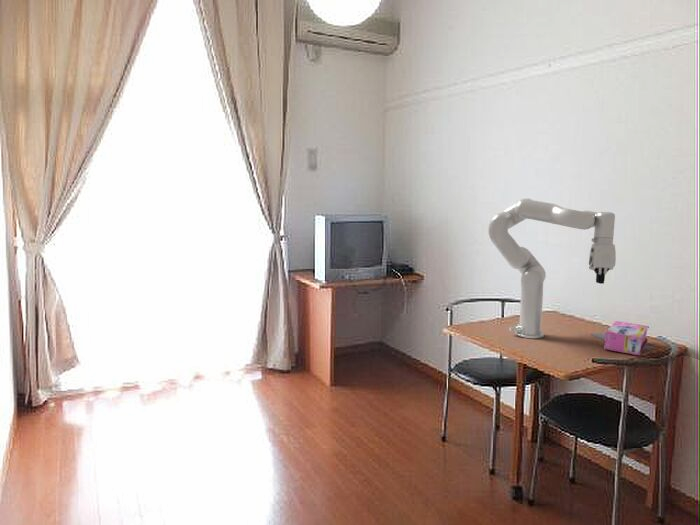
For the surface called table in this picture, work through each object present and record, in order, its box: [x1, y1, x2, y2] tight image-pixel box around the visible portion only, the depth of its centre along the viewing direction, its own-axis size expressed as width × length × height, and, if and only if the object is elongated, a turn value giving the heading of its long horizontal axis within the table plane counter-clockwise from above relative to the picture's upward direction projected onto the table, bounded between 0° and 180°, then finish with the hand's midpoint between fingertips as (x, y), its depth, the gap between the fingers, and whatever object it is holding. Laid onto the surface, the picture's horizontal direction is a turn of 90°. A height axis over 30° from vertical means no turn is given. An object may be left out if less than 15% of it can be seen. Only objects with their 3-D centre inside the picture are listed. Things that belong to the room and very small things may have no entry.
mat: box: [590, 332, 656, 351], centre depth 243 cm, size 14×24×1 cm, turn 10°
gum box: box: [603, 320, 650, 356], centre depth 235 cm, size 24×8×14 cm
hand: (599, 282), depth 237 cm, fingers closed
